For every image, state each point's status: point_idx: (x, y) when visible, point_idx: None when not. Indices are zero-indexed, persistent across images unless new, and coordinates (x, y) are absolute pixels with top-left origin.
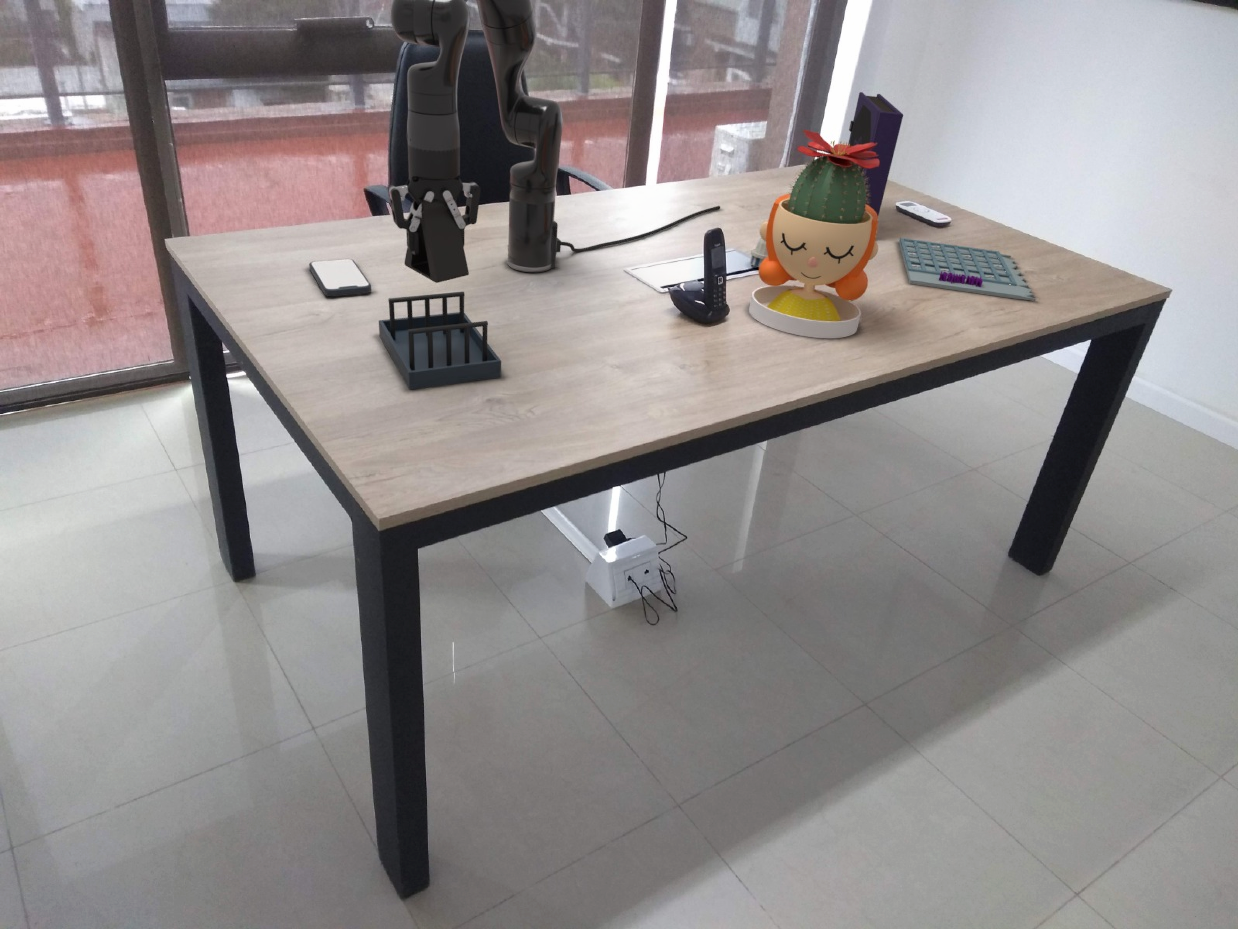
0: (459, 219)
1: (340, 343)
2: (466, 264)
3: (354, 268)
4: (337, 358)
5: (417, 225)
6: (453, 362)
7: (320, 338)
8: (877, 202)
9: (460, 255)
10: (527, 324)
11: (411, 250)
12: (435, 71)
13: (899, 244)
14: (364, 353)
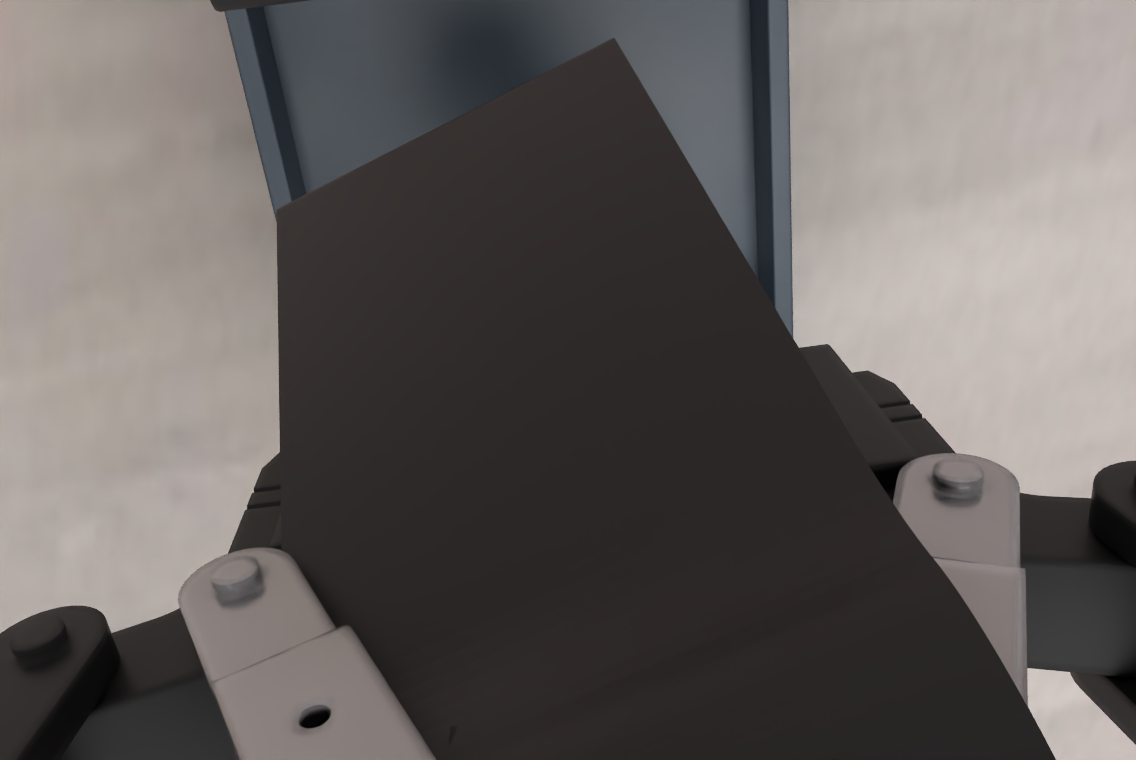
0: (256, 633)
1: (957, 355)
2: (284, 257)
3: None
4: (1012, 203)
5: (911, 506)
6: (469, 5)
7: (1026, 413)
8: None
9: (333, 296)
10: (18, 464)
11: (863, 374)
12: None
13: None
14: (879, 240)
